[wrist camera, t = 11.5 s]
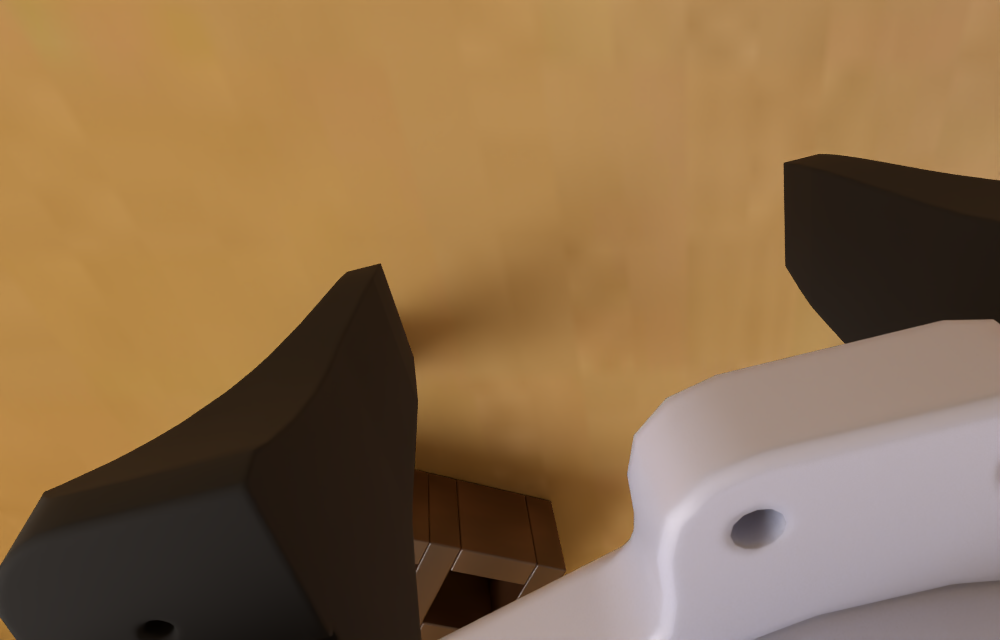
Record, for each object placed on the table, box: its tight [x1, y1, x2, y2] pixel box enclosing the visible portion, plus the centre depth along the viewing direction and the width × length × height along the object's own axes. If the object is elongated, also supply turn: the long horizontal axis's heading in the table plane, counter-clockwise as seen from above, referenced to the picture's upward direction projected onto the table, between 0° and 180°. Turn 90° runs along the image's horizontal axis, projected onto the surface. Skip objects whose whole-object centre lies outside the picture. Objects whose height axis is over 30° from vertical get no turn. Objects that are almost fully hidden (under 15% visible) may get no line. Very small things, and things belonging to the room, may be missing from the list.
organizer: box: [413, 470, 566, 640], centre depth 30 cm, size 10×14×4 cm
